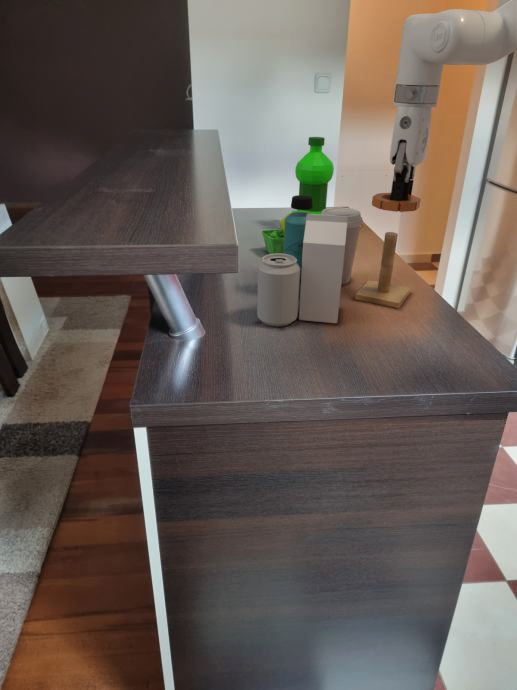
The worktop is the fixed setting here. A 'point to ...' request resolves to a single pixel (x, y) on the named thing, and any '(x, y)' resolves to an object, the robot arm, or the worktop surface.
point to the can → (278, 289)
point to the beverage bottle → (296, 229)
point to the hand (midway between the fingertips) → (400, 201)
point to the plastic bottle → (315, 175)
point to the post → (385, 279)
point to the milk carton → (322, 267)
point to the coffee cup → (348, 236)
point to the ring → (395, 203)
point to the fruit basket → (275, 238)
